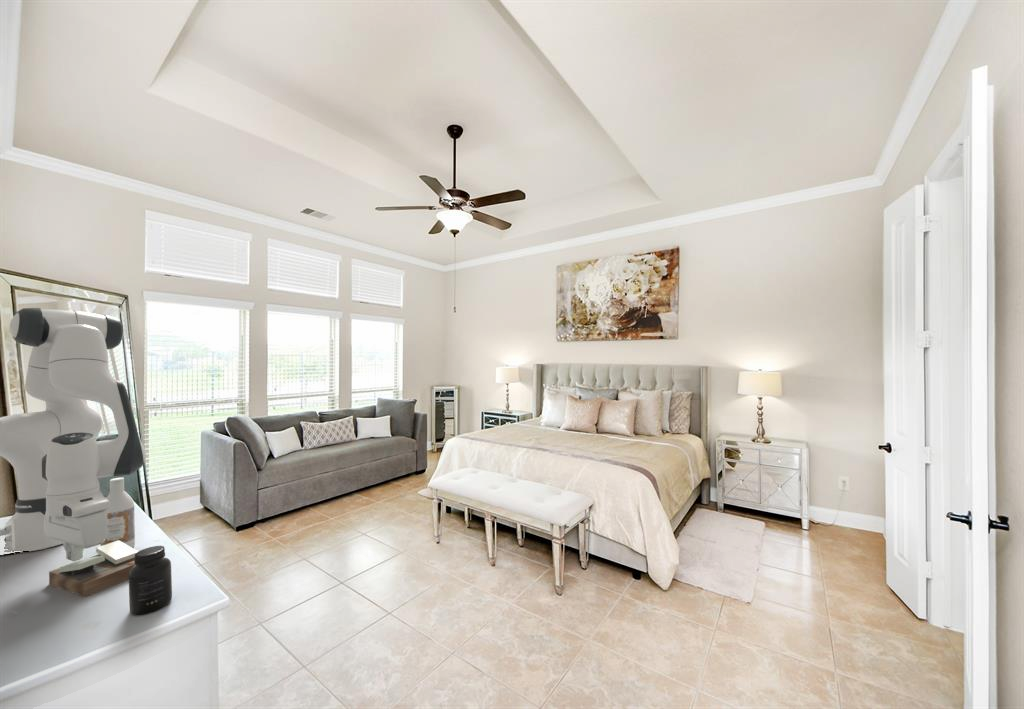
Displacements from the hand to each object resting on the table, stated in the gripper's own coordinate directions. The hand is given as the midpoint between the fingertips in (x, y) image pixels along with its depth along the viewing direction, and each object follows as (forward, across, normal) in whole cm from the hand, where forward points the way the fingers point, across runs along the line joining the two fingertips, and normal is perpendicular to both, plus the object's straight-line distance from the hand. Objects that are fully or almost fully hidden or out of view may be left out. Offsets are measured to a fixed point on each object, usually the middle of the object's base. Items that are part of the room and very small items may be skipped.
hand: (74, 559), depth 98 cm
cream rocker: (+1, +3, +6) cm, 7 cm away
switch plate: (+5, +3, +3) cm, 7 cm away
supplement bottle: (+5, +30, 0) cm, 31 cm away
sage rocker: (+1, +3, 0) cm, 4 cm away
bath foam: (+6, -12, +13) cm, 18 cm away
